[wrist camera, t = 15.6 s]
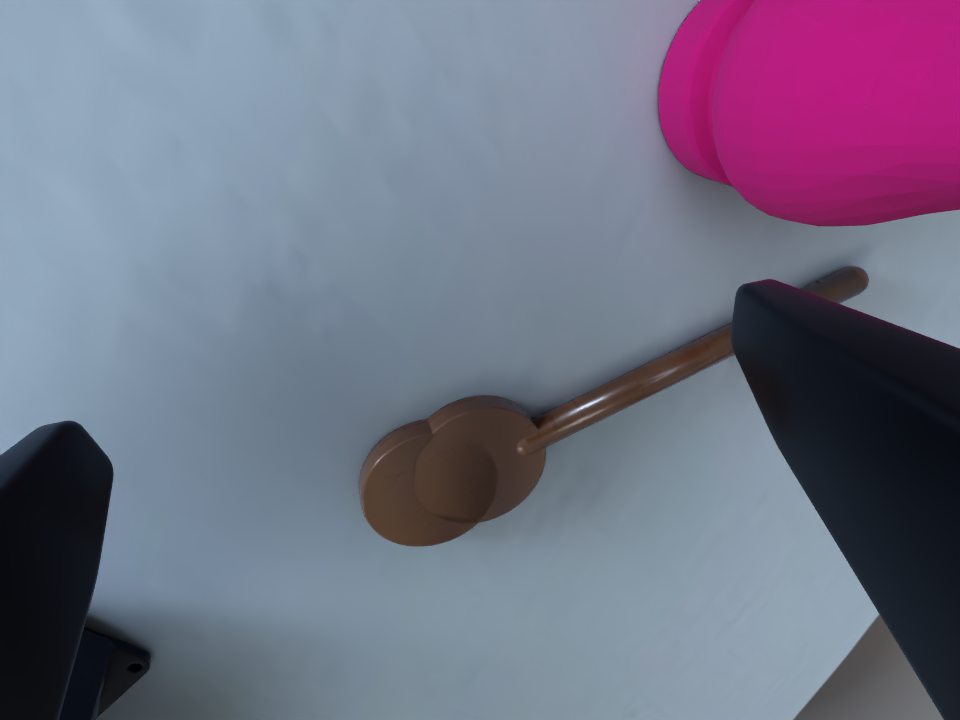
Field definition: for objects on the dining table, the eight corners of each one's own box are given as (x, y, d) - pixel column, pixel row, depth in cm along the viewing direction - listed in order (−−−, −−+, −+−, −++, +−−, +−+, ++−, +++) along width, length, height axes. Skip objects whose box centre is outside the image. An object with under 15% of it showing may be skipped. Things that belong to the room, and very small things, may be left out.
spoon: (393, 550, 25) (397, 571, 24) (333, 457, 22) (336, 477, 21) (853, 323, 27) (875, 334, 26) (850, 211, 24) (876, 218, 23)
